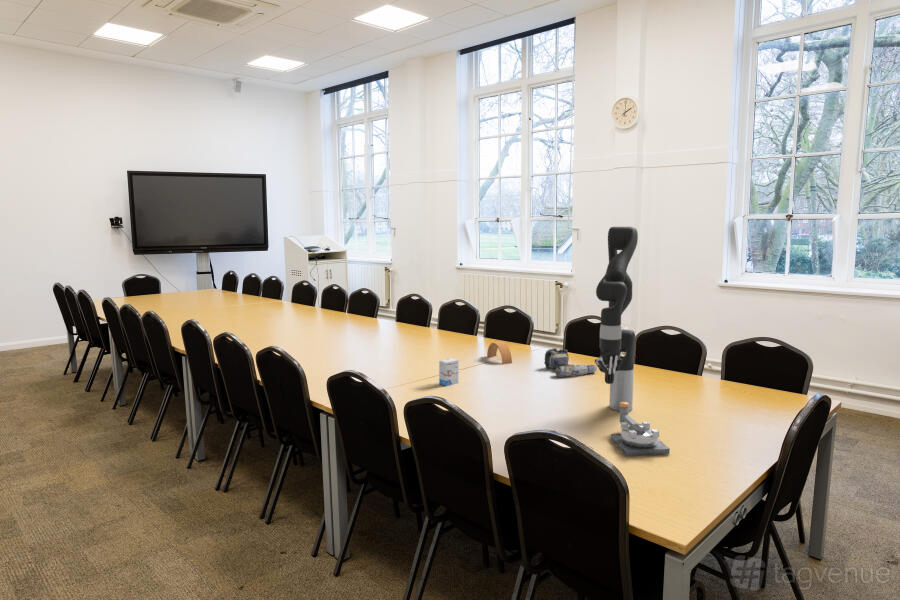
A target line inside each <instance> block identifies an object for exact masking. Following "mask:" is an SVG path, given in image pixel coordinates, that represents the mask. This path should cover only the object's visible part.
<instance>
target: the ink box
mask: <svg viewBox="0 0 900 600" xmlns="http://www.w3.org/2000/svg"><path fill="white" fill-rule="evenodd" d="M438 363H439V365H438V367H439V368H438V369H439V371H438V372H439V376H438V378H439V385H441V386H445V387H448V386H452V385H455V384H459V374H460V373H459V369H460V367H459V359H457V358H454V357H449V358H445V359H441V360H439V361H438Z"/></svg>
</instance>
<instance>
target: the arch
mask: <svg viewBox="0 0 900 600" xmlns="http://www.w3.org/2000/svg"><path fill="white" fill-rule="evenodd" d="M498 350H499V353H500V356H501V364H502V365H509V364H513V359H512V354H511V353H512V352H511V351H510V347H509V346H508V345H507V343H505V342H504V341H495V342H491V343H490V344H489V346H488V348H487V352H486V353H487V356H486V357H488V358H490V357H497V354H498V353H497V352H498Z"/></svg>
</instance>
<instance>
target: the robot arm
mask: <svg viewBox="0 0 900 600" xmlns="http://www.w3.org/2000/svg"><path fill="white" fill-rule="evenodd" d="M638 235H639V234H638V230H637V228H636V226H635V227H634V226H611V227H609V229H608V231H607V251H608V264H607V267H606V271H605V274H604V275H603V277H602V278H601V279H600V281H599V282H598V284H597V286H596V290H595V295H596V297H597V299H598V300H599V301H602V302H608V307H604V308H602V309H601V312H600V327H599V350H600V354H599V357H598V358H597V359H594V364H595V366H596V367H597V369H599V370H598V371H600V372H601V373H603V374H604V382H605V383H606V384H608V385H609V404H608V405H609V409H610V410H613V411H616V412H620V402H627V403H629V407H628V412H631V411H633V405H634V403H633V402H634V369H635V368H634V367H635V365H634V363H635V348H636V347H635V346H636V334H635V333H636V332H635V331H634V330H633V329H622V315H623V313H624V312H625V311H626V309H627V308H628V306H629V305H630V304H631V302H632V299H633V281H632V279H631V277H630V276H629V274H628V272H627V270H628V266H629V263H630V262H631V259H632V257H633V256H634V253H635V252H636V251H635V250H636V248H637V245H638V241H639V240H638V239H639V236H638ZM618 251H619V252H618ZM621 353H625V355H621Z"/></svg>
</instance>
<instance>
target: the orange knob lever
mask: <svg viewBox="0 0 900 600" xmlns="http://www.w3.org/2000/svg"><path fill="white" fill-rule="evenodd" d="M628 407H629V403H627V402H620V411H619V423H620V429H621V431H620V432H621V433H620V434H621V440H622V442H624V443H625V444H628V445H630V446H635V447H653V446H655V445H657V443H658V439H659V438H660V431H659V429H654V428H651V423H650V422H649V421H648V420H646V421H642V422H641V423H638V422H637V421H636V420H635V419H633V418H632V417H631V416H630V415H629V411H628Z"/></svg>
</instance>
